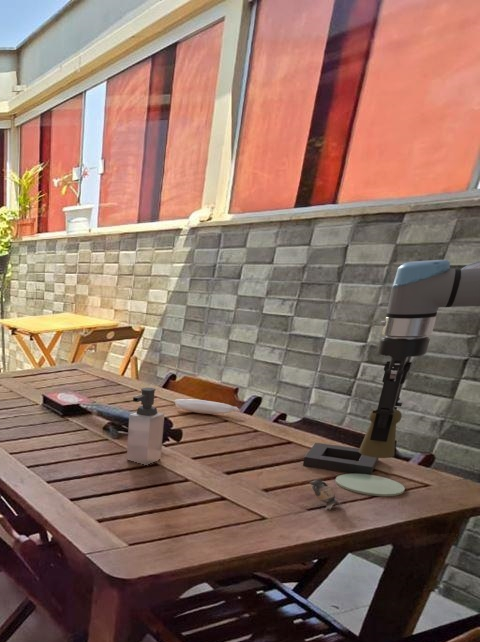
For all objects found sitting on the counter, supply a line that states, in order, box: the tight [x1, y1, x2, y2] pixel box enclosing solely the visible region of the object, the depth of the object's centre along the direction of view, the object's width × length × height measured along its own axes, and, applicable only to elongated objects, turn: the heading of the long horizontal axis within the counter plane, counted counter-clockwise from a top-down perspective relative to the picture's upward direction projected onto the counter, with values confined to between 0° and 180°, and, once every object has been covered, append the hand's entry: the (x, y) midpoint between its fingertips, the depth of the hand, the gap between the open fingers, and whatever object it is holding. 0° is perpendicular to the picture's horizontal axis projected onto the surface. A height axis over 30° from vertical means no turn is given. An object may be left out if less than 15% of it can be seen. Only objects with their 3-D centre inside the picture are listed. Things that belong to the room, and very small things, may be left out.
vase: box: [309, 478, 344, 512], centre depth 112 cm, size 5×5×6 cm
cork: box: [359, 407, 403, 459], centre depth 114 cm, size 6×6×11 cm
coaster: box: [334, 473, 406, 497], centre depth 118 cm, size 12×12×1 cm
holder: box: [302, 442, 380, 475], centre depth 131 cm, size 13×13×2 cm
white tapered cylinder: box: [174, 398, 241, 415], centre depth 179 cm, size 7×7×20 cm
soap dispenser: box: [126, 387, 165, 466], centre depth 143 cm, size 6×9×22 cm
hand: (380, 436), depth 114 cm, fingers closed on cork, 5 cm apart
